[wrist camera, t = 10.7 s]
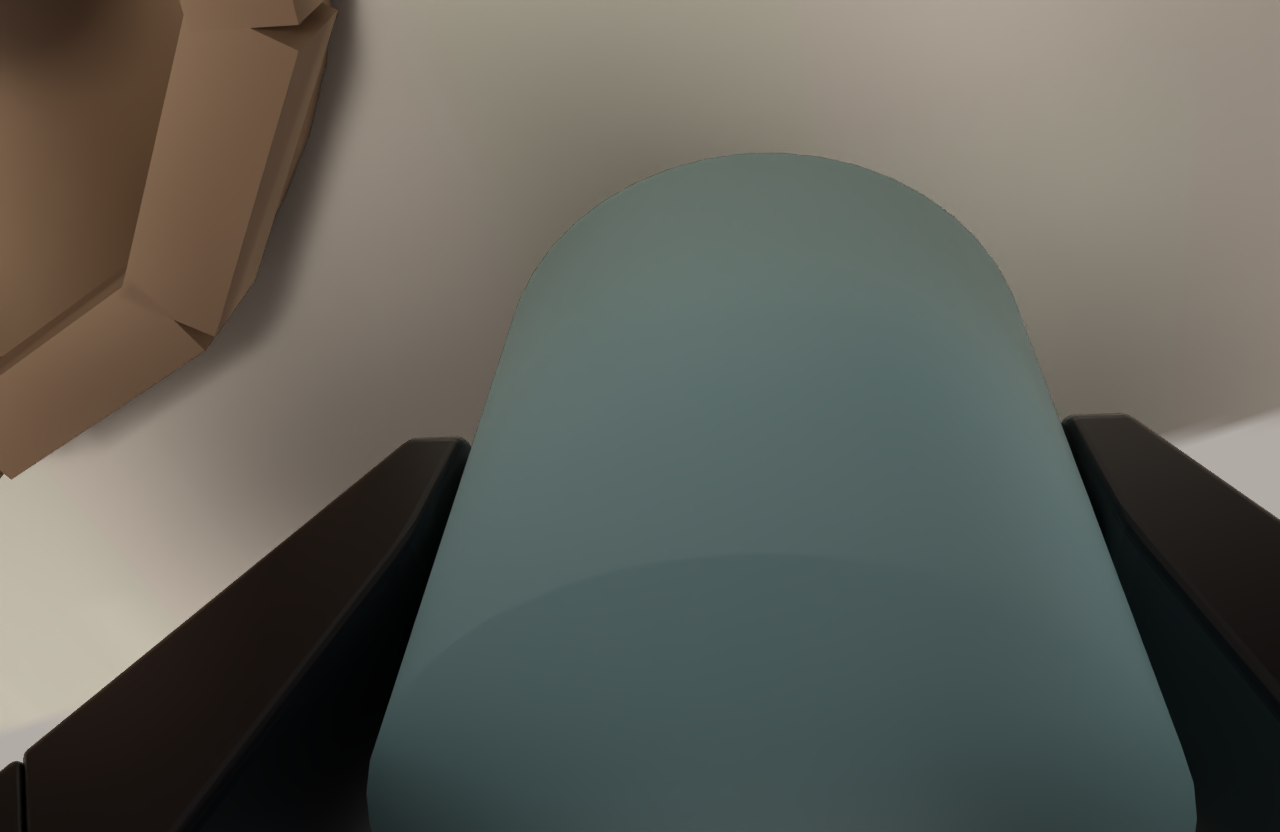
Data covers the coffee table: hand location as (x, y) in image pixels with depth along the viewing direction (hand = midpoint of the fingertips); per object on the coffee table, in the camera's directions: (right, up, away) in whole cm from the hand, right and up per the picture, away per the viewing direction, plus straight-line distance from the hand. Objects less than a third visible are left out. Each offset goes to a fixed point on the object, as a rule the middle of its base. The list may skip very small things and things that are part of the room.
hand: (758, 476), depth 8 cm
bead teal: (0, +1, +1) cm, 1 cm away
